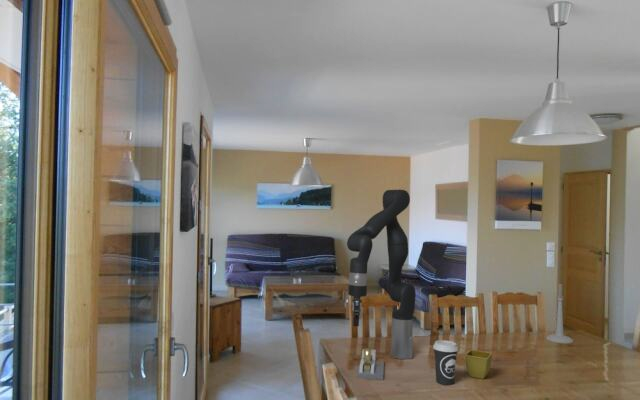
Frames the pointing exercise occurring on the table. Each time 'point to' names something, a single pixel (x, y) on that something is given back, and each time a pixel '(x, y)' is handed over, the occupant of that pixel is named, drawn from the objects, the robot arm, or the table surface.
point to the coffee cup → (445, 361)
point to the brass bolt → (367, 359)
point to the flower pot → (478, 363)
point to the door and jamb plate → (375, 368)
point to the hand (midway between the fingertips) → (355, 324)
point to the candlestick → (559, 322)
